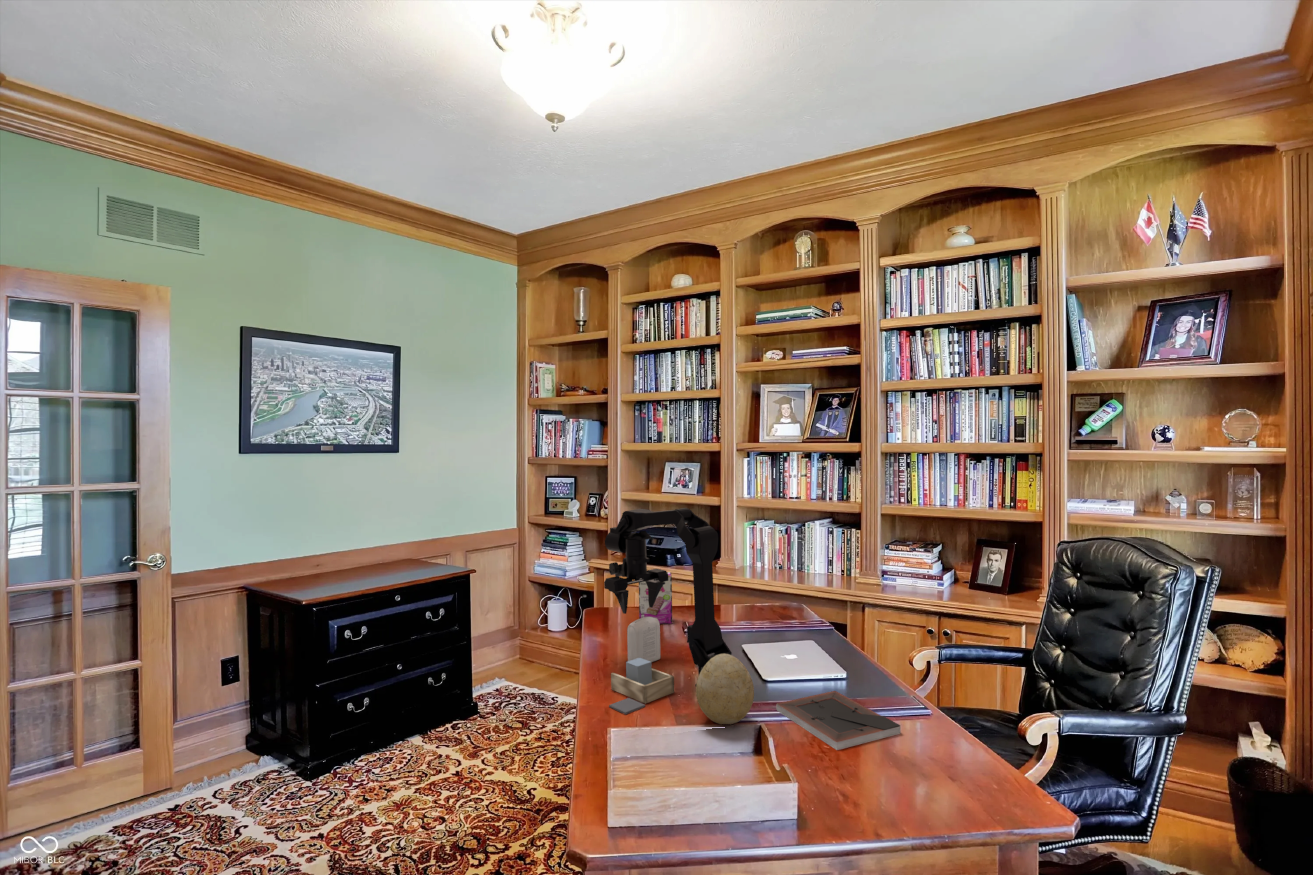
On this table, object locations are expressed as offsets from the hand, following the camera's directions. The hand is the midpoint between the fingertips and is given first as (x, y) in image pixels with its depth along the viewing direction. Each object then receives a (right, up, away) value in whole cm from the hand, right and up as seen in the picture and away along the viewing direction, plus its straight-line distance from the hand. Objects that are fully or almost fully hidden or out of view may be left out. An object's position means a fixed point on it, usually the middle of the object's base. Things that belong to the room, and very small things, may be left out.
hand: (637, 610), depth 192 cm
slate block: (+1, -15, -20) cm, 25 cm away
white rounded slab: (+2, -15, 0) cm, 15 cm away
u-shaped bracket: (+2, -15, -21) cm, 26 cm away
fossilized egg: (+20, -15, -40) cm, 48 cm away
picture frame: (+45, -15, -41) cm, 63 cm away
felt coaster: (-2, -15, -31) cm, 34 cm away
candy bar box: (+5, -14, +38) cm, 40 cm away
